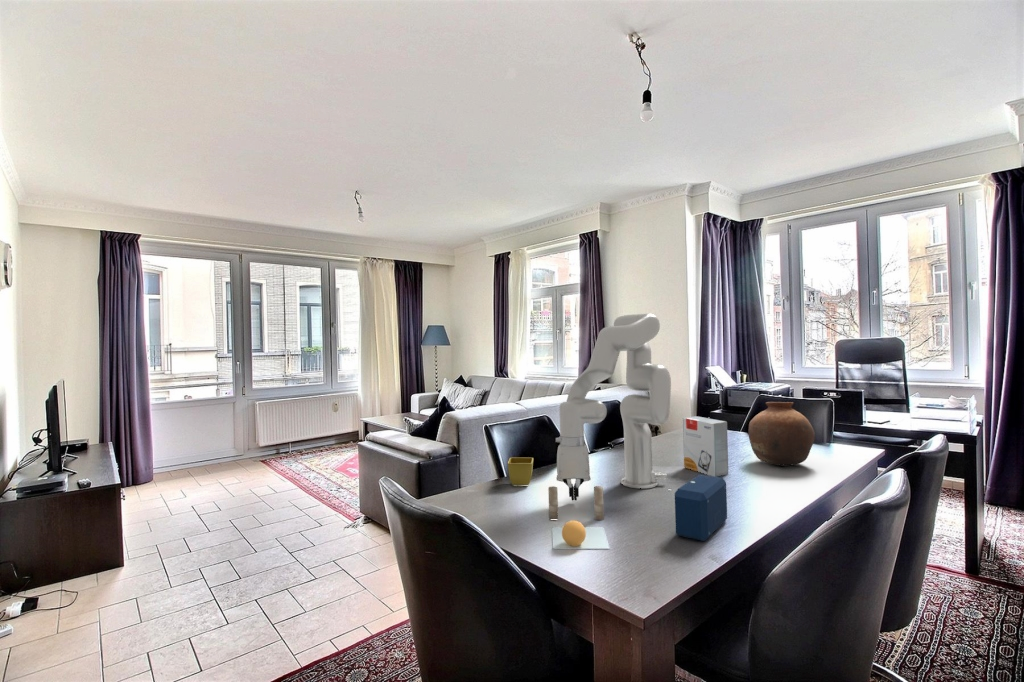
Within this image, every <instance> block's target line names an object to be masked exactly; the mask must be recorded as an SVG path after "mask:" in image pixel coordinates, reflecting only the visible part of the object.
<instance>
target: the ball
mask: <svg viewBox="0 0 1024 682" xmlns="http://www.w3.org/2000/svg"><path fill="white" fill-rule="evenodd" d="M562 527H563V529H562V537H563V539H564V541H565V542H566V543H567V544H569V545H571V546H578V545H580V544H581V543H582V542H583V541H584V540H585V537H586V531H585V528H584V527H585V526H584V524H582V522H580V521H577V520H569V521H567V522H565V524H564V525H563V526H562Z"/></svg>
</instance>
